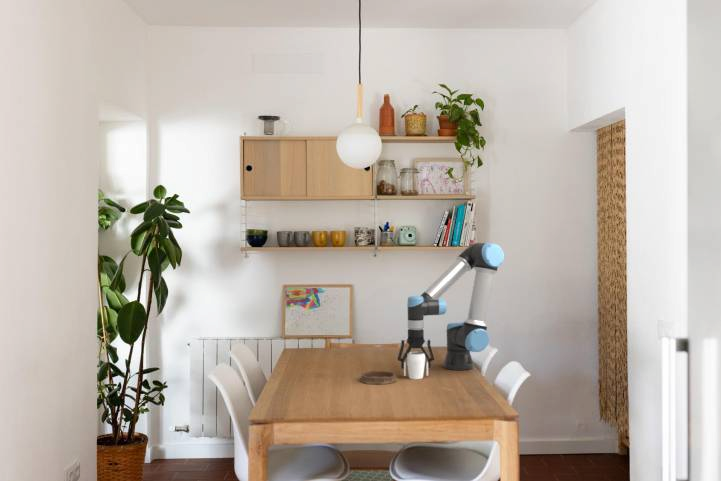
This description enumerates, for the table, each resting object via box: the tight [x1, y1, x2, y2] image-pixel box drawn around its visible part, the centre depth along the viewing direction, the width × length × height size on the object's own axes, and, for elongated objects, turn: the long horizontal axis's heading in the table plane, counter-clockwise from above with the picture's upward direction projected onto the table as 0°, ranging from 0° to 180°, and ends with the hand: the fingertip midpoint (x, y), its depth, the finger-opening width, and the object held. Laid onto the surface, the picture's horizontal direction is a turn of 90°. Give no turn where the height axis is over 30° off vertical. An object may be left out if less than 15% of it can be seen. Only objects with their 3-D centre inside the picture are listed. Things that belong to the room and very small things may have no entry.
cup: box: [405, 350, 426, 380], centre depth 319 cm, size 9×9×12 cm
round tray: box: [360, 370, 398, 386], centre depth 313 cm, size 17×17×3 cm
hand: (416, 375), depth 319 cm, fingers open, 10 cm apart
